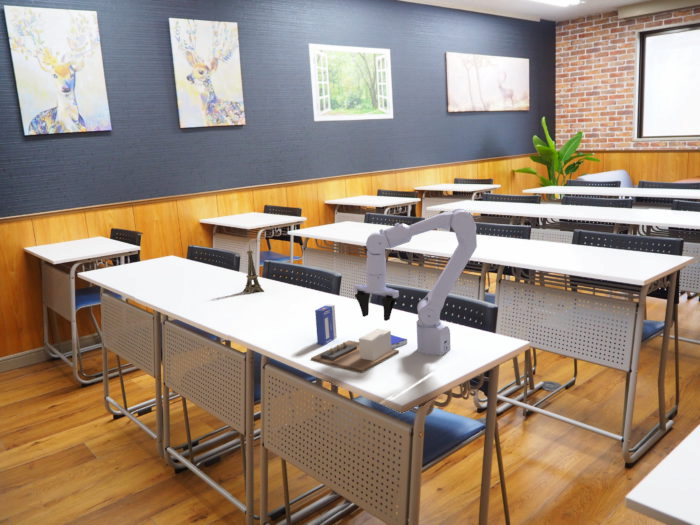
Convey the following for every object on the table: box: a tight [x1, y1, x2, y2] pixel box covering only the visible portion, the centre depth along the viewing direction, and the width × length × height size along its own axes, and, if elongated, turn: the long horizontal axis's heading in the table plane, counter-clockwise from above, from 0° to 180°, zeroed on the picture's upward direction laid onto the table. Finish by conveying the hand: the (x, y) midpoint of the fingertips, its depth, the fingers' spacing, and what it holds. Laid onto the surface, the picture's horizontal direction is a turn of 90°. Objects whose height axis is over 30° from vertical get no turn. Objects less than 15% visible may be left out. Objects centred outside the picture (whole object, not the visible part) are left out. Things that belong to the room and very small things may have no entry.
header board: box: [310, 340, 400, 373], centre depth 169 cm, size 19×18×3 cm
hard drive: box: [391, 334, 408, 349], centre depth 180 cm, size 2×8×12 cm
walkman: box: [314, 303, 338, 346], centre depth 183 cm, size 8×3×12 cm, turn 152°
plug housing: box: [358, 328, 392, 361], centre depth 168 cm, size 5×10×6 cm, turn 145°
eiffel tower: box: [242, 245, 265, 295], centre depth 247 cm, size 11×11×25 cm
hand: (376, 317), depth 171 cm, fingers open, 7 cm apart
